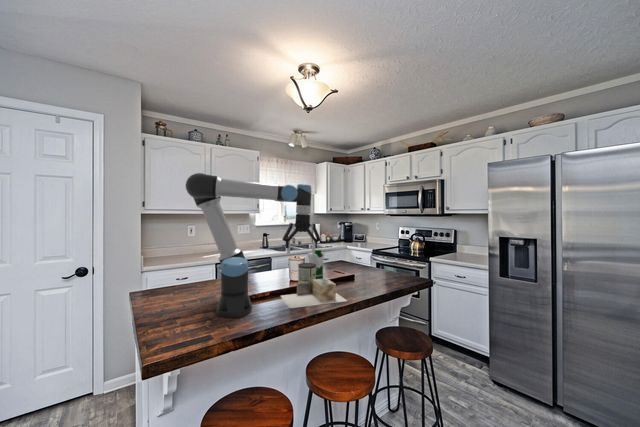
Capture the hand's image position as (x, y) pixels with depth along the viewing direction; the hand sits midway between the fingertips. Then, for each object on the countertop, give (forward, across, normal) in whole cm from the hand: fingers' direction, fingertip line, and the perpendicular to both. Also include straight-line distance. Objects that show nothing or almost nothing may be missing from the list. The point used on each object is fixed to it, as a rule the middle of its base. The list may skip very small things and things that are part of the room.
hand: (301, 254), depth 144 cm
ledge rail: (+22, +10, +2) cm, 24 cm away
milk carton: (+22, +19, +27) cm, 39 cm away
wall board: (+22, +6, -6) cm, 24 cm away
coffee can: (+22, +8, +13) cm, 27 cm away
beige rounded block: (+22, +12, -6) cm, 25 cm away
